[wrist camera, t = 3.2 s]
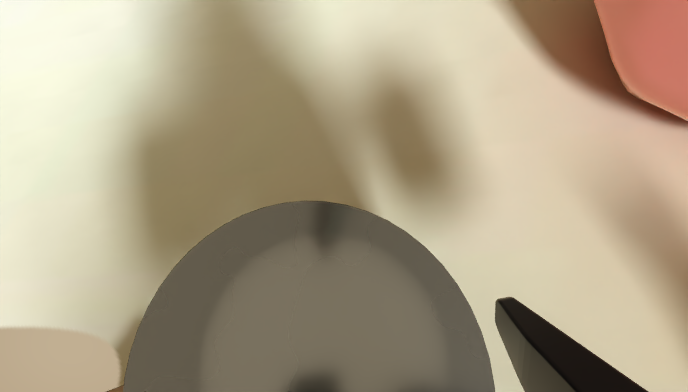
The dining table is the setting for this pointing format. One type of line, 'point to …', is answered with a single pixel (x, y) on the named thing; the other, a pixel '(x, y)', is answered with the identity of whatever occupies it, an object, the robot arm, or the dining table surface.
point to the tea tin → (309, 311)
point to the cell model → (649, 49)
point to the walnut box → (117, 389)
